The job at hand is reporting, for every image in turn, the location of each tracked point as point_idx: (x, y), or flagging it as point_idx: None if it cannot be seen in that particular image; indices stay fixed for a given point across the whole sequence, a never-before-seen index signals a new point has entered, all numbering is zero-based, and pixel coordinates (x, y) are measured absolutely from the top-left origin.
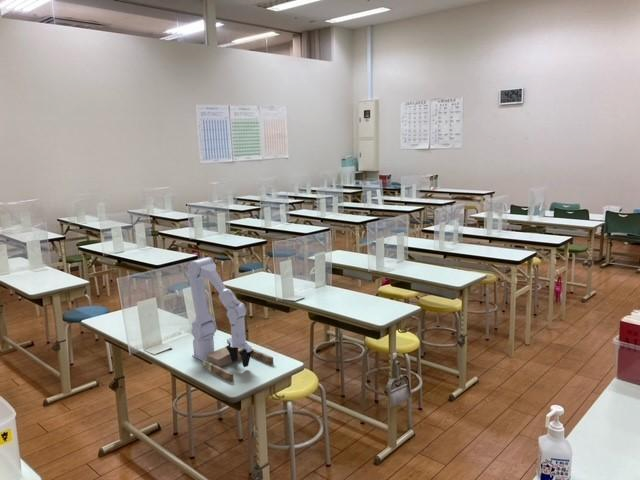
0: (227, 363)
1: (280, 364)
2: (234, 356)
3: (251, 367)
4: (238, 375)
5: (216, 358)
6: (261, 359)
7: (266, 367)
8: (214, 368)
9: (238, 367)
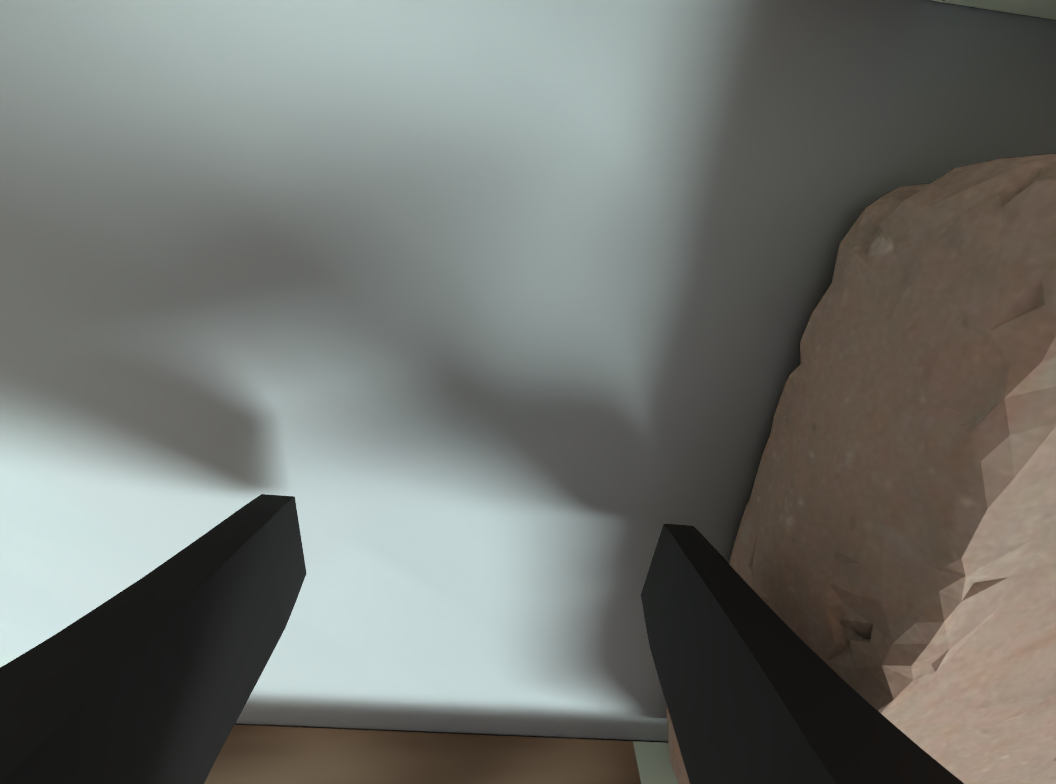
0: (777, 443)
1: None
2: (698, 662)
3: (319, 572)
4: (152, 221)
5: None
6: (396, 753)
7: None
8: None
9: (499, 469)
